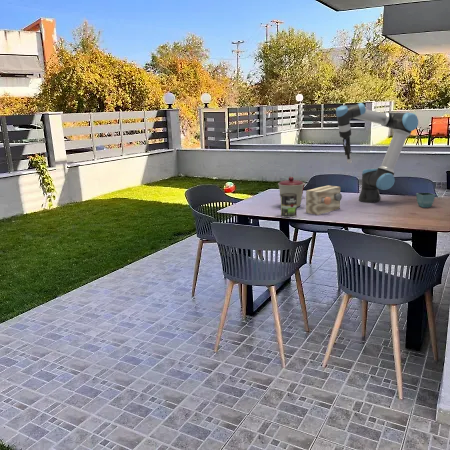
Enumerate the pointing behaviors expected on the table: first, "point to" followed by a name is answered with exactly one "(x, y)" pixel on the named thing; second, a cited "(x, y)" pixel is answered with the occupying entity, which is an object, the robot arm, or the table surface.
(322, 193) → the stand
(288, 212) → the coffee can
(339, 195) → the grey plunger
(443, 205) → the table surface
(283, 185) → the canister
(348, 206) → the table surface
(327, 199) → the terracotta plunger
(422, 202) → the flower pot
